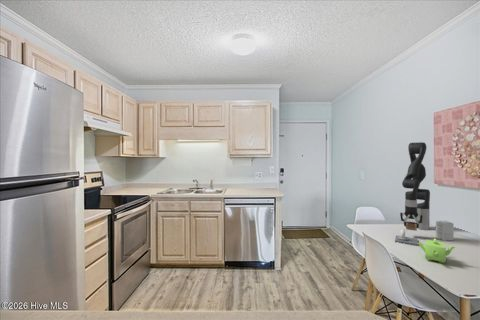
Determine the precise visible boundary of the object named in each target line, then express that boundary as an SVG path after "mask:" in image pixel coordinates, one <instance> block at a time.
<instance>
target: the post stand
mask: <svg viewBox="0 0 480 320" xmlns="http://www.w3.org/2000/svg"><path fill="white" fill-rule="evenodd" d="M394 239H395V240H394V242H395V243H397V242H399V243H398V244H403V243H405V244H404V245H409V244H410V245H409V246H414V247H415V246H417V247H418V246H419V244H418V243H419V242H418V238H415V237H410V236H406V229H402V228H401V229H400V235H395V238H394Z"/></svg>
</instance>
